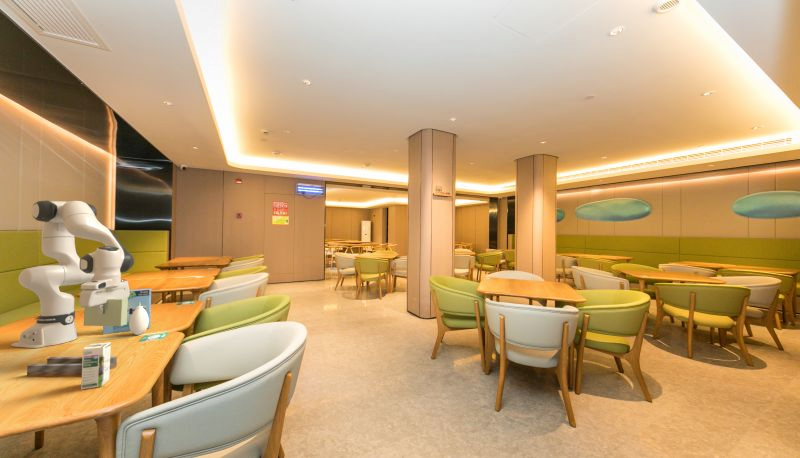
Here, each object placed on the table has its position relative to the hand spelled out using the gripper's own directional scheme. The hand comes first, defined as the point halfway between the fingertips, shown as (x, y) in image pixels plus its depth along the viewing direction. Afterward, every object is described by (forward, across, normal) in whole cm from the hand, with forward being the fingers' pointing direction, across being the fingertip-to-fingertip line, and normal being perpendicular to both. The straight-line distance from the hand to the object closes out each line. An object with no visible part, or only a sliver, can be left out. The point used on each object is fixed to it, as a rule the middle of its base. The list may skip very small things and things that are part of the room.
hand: (105, 312), depth 131 cm
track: (+19, +15, +2) cm, 25 cm away
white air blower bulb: (+20, -28, -8) cm, 35 cm away
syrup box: (+19, +26, +21) cm, 39 cm away
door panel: (+6, 0, 0) cm, 6 cm away
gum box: (+20, -35, -20) cm, 45 cm away
